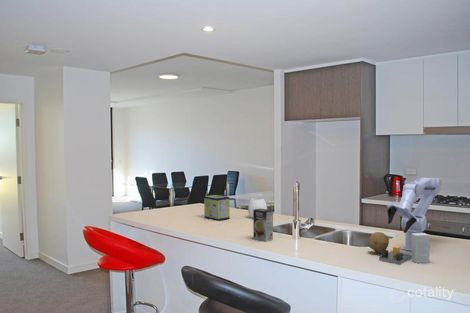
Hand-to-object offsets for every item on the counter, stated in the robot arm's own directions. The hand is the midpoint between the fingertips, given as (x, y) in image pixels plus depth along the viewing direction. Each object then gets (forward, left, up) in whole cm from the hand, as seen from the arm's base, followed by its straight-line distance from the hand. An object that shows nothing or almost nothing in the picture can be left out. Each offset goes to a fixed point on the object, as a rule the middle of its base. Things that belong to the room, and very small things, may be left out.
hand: (397, 227), depth 179 cm
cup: (-30, -112, -14) cm, 117 cm away
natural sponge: (-1, -10, -14) cm, 17 cm away
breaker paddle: (+2, 0, -12) cm, 12 cm away
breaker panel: (+3, 0, -14) cm, 14 cm away
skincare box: (-1, +9, -14) cm, 17 cm away
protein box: (-9, -131, -14) cm, 132 cm away
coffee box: (+15, -67, -14) cm, 70 cm away
